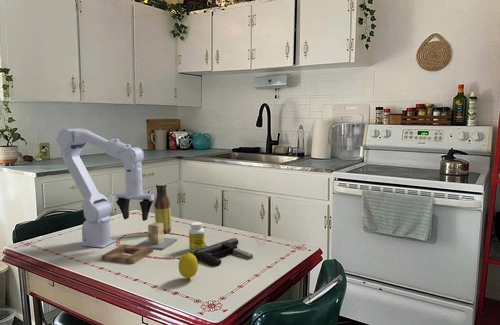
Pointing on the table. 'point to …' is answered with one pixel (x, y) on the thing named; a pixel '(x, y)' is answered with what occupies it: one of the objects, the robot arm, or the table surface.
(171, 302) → the table surface
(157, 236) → the beech block
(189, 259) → the lemon
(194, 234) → the supplement bottle
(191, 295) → the table surface
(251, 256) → the toy gun
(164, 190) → the sauce bottle
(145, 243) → the grey square plate
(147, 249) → the brown wooden square frame
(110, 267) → the table surface
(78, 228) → the table surface
